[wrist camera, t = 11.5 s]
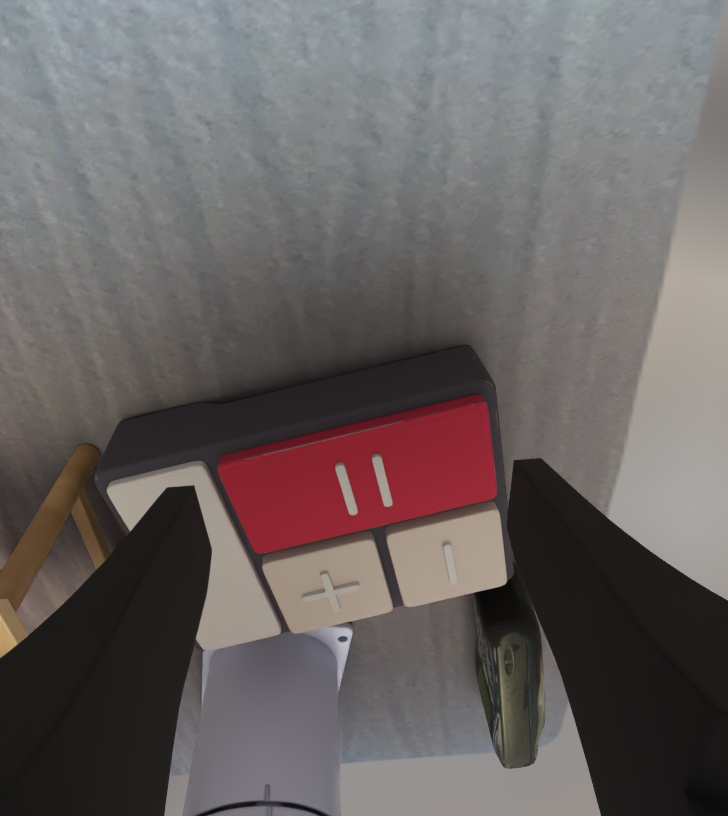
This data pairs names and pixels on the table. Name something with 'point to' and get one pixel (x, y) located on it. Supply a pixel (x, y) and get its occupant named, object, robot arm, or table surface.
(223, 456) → the calculator
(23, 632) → the wooden l-shaped block
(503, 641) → the mobile phone
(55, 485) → the stand
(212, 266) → the table surface
